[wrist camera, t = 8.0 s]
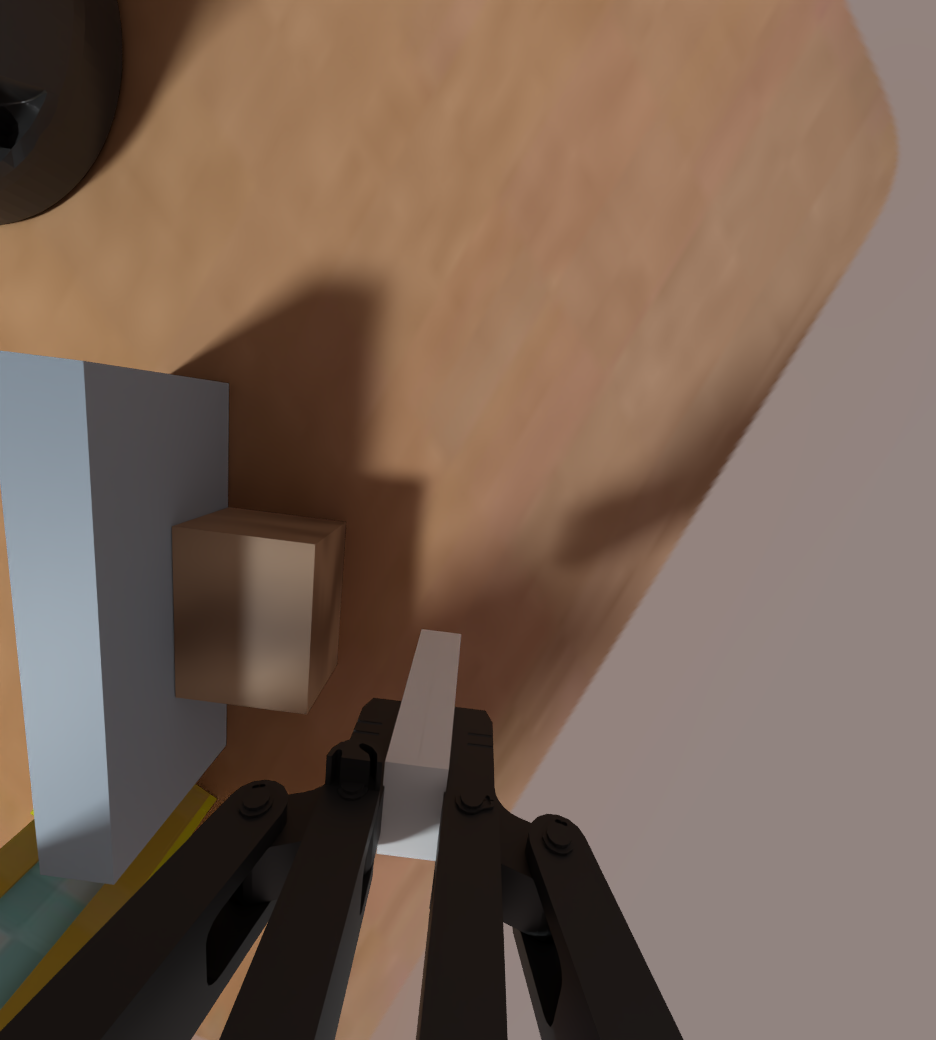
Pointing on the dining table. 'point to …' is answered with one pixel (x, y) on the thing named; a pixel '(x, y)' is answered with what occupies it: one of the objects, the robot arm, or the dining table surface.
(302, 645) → the brown rectangular block
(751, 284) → the dining table surface
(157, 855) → the yellow rounded trough
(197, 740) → the slate board
